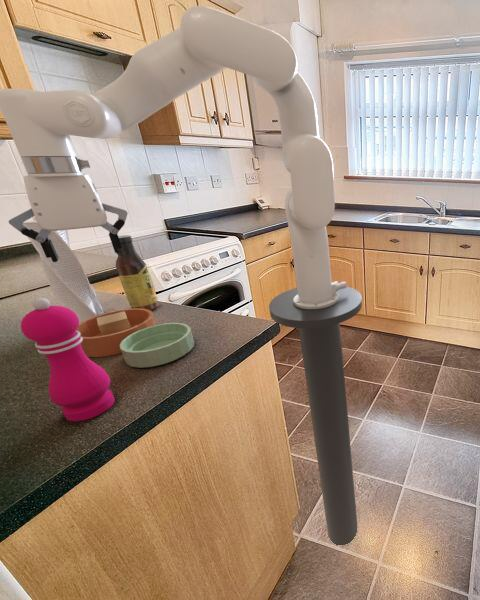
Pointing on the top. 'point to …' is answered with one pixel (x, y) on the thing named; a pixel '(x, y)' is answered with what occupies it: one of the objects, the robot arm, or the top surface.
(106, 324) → the beech block
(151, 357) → the dish
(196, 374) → the top surface
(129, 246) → the sauce bottle
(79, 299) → the skyscraper
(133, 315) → the pan
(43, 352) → the pepper mill
